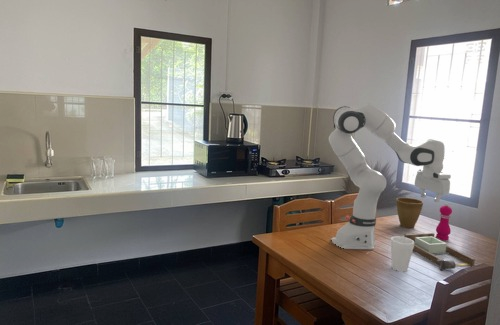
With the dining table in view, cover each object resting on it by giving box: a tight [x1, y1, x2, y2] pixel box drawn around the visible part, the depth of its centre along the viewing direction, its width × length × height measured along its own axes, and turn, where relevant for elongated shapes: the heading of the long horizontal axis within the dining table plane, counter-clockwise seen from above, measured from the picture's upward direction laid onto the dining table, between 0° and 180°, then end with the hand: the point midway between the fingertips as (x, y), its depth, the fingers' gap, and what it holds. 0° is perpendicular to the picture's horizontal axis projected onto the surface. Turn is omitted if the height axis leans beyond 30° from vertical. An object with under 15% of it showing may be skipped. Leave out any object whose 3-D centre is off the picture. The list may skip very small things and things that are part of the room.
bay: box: [403, 232, 476, 271], centre depth 179 cm, size 22×31×6 cm
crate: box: [415, 236, 448, 255], centre depth 186 cm, size 10×10×5 cm
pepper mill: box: [435, 202, 453, 241], centre depth 205 cm, size 7×7×20 cm
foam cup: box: [390, 236, 415, 273], centre depth 163 cm, size 10×9×13 cm
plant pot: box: [396, 197, 424, 229], centre depth 225 cm, size 15×15×16 cm
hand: (429, 199), depth 188 cm, fingers open, 8 cm apart
